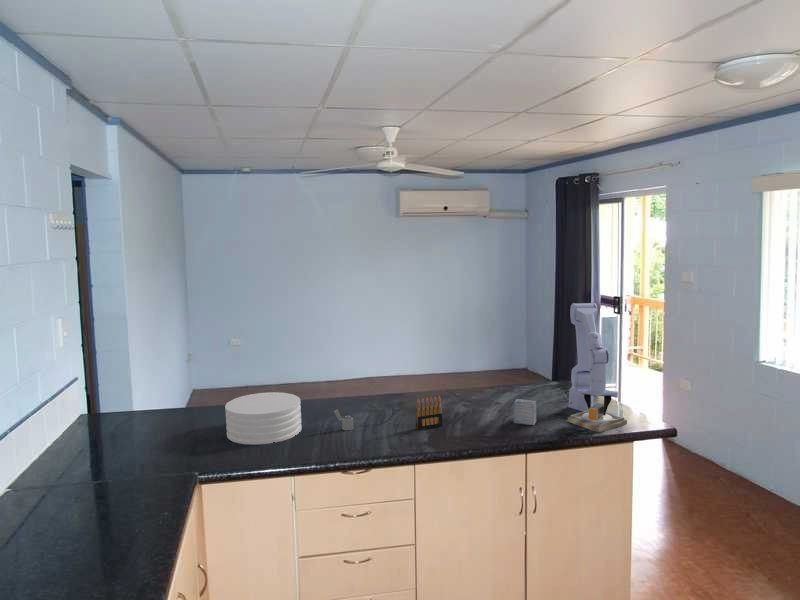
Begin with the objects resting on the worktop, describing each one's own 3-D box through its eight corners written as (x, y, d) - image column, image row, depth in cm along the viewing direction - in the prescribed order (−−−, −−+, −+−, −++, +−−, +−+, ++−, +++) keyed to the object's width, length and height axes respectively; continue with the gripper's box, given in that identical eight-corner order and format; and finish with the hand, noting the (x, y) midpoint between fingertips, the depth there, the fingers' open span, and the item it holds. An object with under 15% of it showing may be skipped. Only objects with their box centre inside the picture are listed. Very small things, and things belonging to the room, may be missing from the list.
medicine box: (536, 422, 227) (536, 400, 226) (533, 425, 223) (534, 403, 222) (516, 419, 231) (516, 398, 230) (513, 423, 227) (513, 401, 226)
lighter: (353, 428, 225) (352, 408, 224) (353, 429, 223) (352, 409, 222) (334, 429, 224) (333, 409, 223) (334, 431, 222) (334, 410, 221)
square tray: (567, 421, 227) (567, 414, 227) (594, 413, 236) (594, 407, 235) (599, 432, 215) (599, 425, 214) (626, 423, 223) (627, 417, 223)
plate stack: (222, 426, 231) (221, 398, 230) (292, 415, 242) (291, 388, 241) (232, 450, 206) (230, 418, 204) (309, 437, 217) (308, 407, 215)
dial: (577, 419, 224) (577, 407, 224) (589, 412, 233) (589, 400, 232) (605, 425, 217) (606, 412, 217) (616, 417, 226) (616, 405, 225)
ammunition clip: (440, 424, 227) (440, 394, 226) (442, 425, 225) (442, 395, 224) (415, 428, 223) (415, 398, 222) (417, 430, 221) (417, 399, 220)
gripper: (578, 381, 221) (577, 416, 223) (618, 383, 217) (617, 418, 219) (578, 376, 228) (577, 410, 230) (617, 378, 224) (616, 413, 226)
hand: (597, 414), depth 225 cm, fingers closed on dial, 5 cm apart
